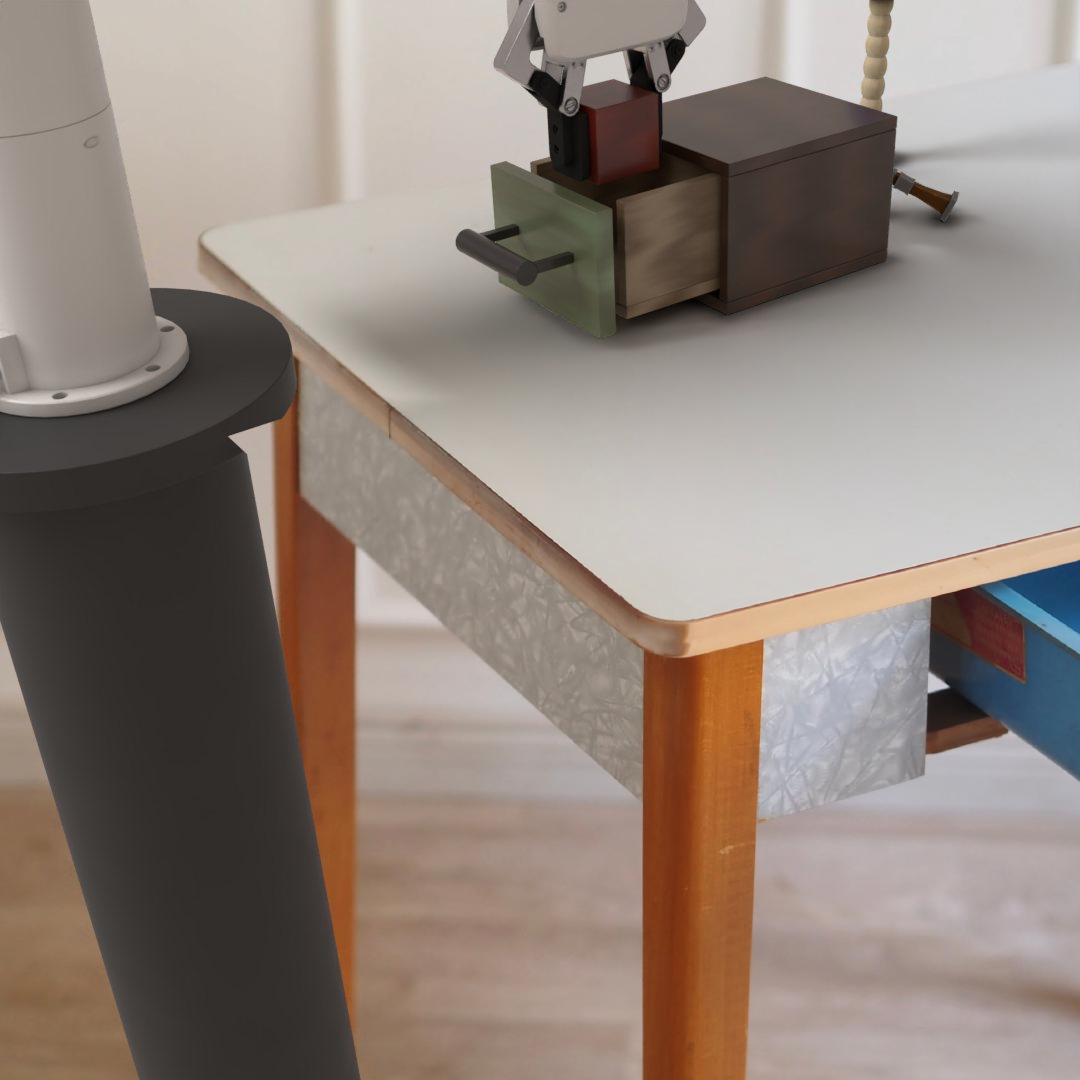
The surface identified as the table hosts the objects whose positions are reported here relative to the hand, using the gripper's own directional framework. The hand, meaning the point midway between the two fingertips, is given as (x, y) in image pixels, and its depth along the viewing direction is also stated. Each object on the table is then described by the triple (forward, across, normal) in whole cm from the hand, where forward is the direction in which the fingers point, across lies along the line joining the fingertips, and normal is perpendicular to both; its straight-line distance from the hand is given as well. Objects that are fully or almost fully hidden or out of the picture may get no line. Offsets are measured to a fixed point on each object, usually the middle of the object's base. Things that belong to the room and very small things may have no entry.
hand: (607, 162), depth 91 cm
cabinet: (+9, -11, 0) cm, 14 cm away
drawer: (+8, +1, 0) cm, 8 cm away
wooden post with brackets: (+9, -24, +1) cm, 26 cm away
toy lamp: (+9, -31, -9) cm, 34 cm away
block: (0, 0, 0) cm, 0 cm away
